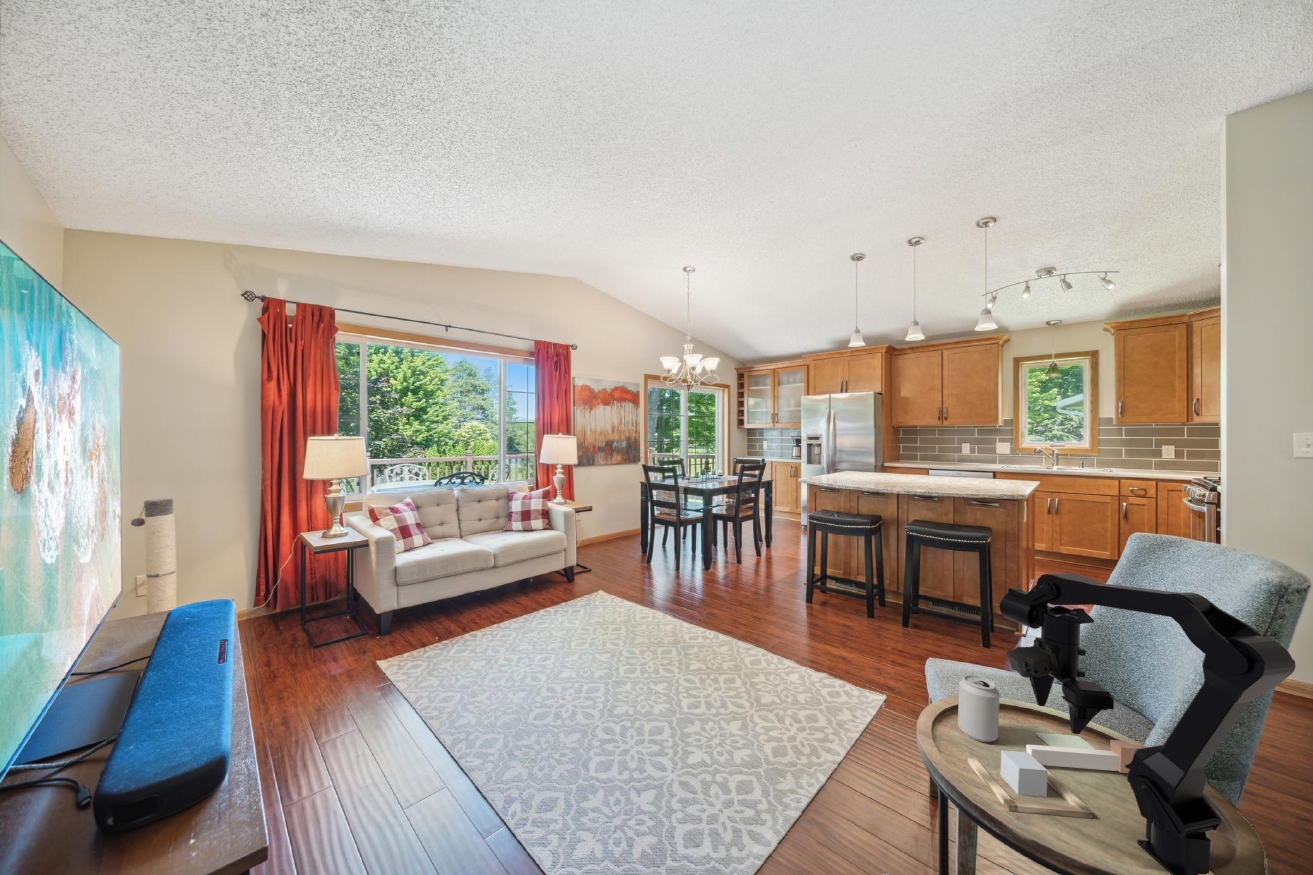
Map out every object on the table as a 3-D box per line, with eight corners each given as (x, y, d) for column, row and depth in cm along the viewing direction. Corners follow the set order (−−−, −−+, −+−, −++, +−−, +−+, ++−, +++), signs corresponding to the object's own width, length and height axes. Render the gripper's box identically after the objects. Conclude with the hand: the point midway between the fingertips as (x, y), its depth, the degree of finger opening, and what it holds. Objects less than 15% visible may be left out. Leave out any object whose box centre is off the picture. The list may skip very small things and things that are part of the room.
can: (1004, 747, 102) (1006, 691, 102) (966, 741, 103) (968, 686, 103) (988, 726, 109) (989, 674, 109) (952, 721, 110) (953, 670, 110)
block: (1046, 797, 88) (1047, 770, 88) (1018, 794, 88) (1019, 768, 88) (1027, 778, 92) (1028, 752, 92) (1000, 775, 93) (1001, 750, 93)
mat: (1114, 765, 97) (1114, 763, 97) (1067, 761, 98) (1067, 759, 98) (1078, 737, 106) (1078, 735, 106) (1036, 734, 107) (1036, 732, 107)
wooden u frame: (1093, 818, 83) (1093, 812, 83) (1008, 811, 84) (1009, 805, 84) (1040, 768, 95) (1040, 763, 95) (967, 762, 96) (967, 757, 96)
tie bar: (1136, 773, 94) (1137, 748, 94) (1032, 765, 95) (1033, 740, 95) (1125, 765, 96) (1126, 740, 96) (1024, 757, 98) (1025, 733, 98)
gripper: (987, 617, 102) (985, 689, 102) (1048, 656, 84) (1045, 745, 84) (1044, 621, 101) (1041, 694, 101) (1118, 662, 82) (1115, 752, 82)
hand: (1057, 718), depth 92 cm, fingers open, 9 cm apart
